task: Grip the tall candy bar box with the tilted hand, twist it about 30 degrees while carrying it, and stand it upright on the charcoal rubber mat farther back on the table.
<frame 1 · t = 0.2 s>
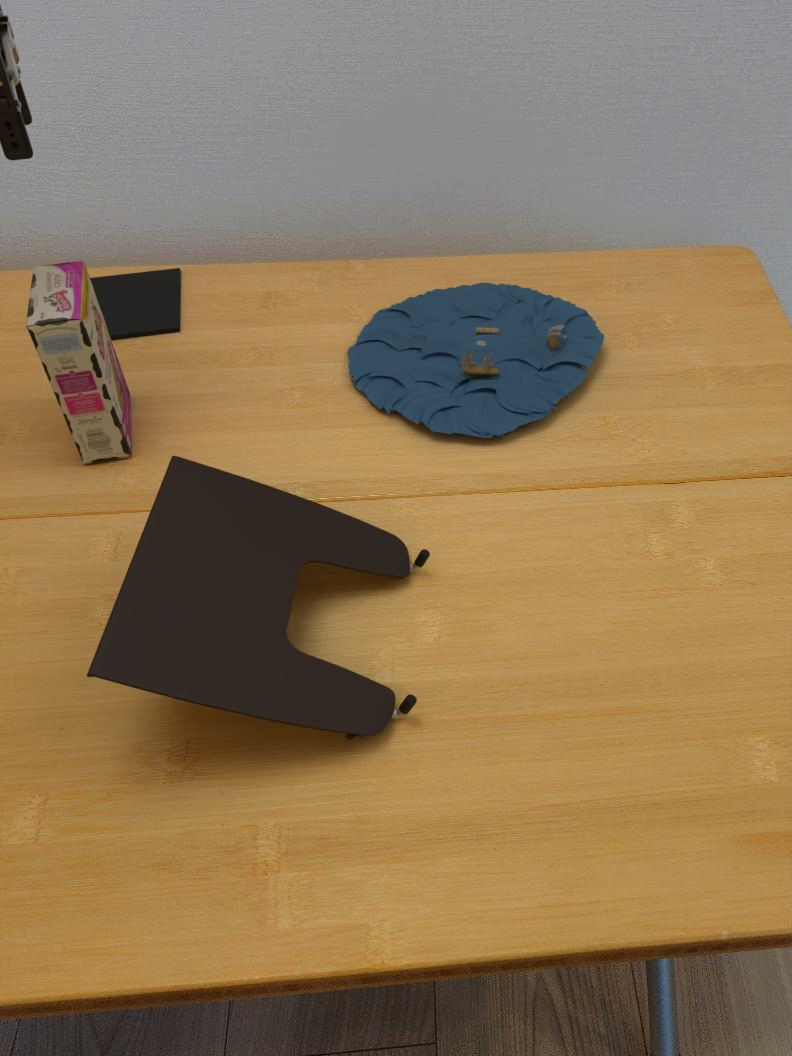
hand: (20, 140, 84), 28 cm above the table, tool pointing down, fingers open, 8 cm apart
mat: (129, 306, 116), on the table
laptop tray: (298, 641, 80), on the table
blue wavy sea disc: (477, 363, 109), on the table
candy bar box: (110, 430, 100), on the table
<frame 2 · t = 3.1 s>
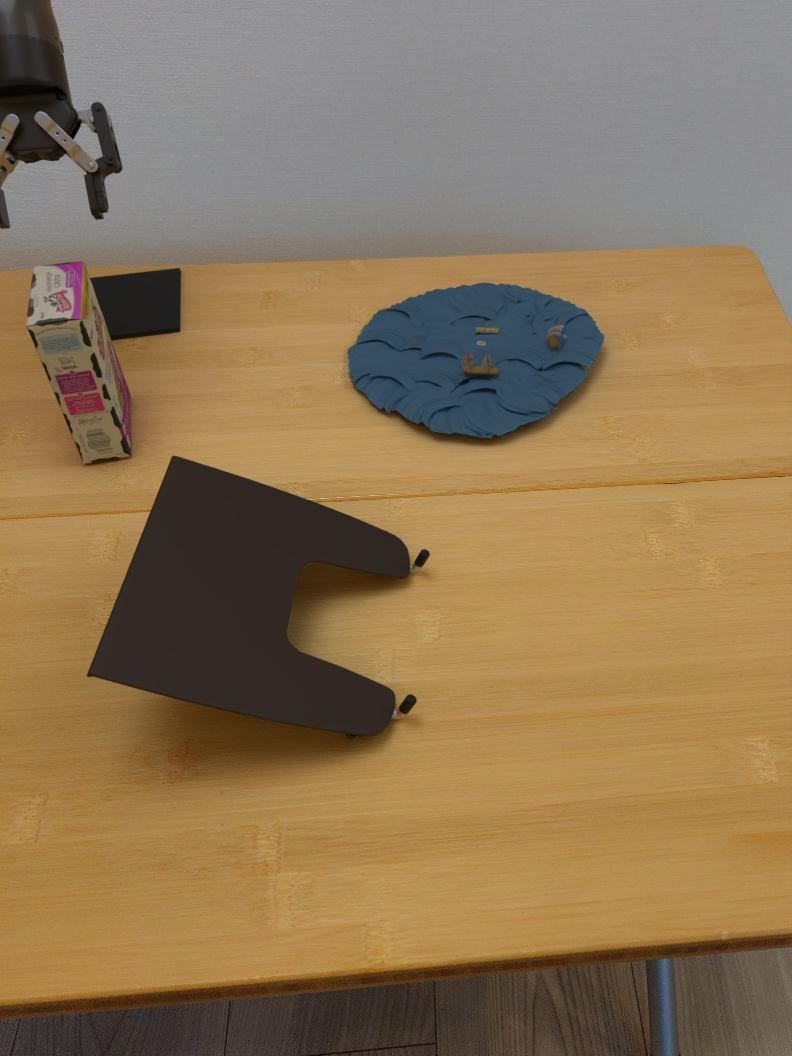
hand: (50, 221, 91), 19 cm above the table, tool tilted 45°, fingers open, 8 cm apart
nothing on the table moved.
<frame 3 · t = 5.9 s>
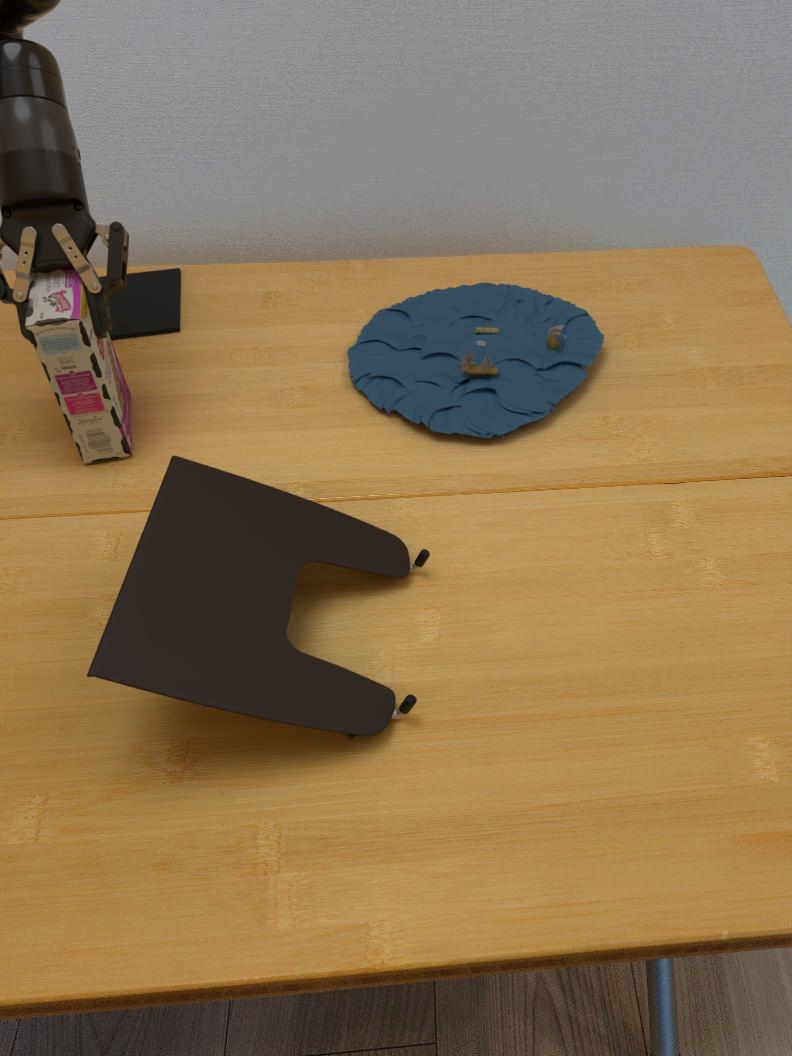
hand: (69, 339, 90), 12 cm above the table, tool tilted 45°, fingers closed on candy bar box, 5 cm apart
candy bar box: (110, 430, 100), on the table, touching gripper
everything else where it was.
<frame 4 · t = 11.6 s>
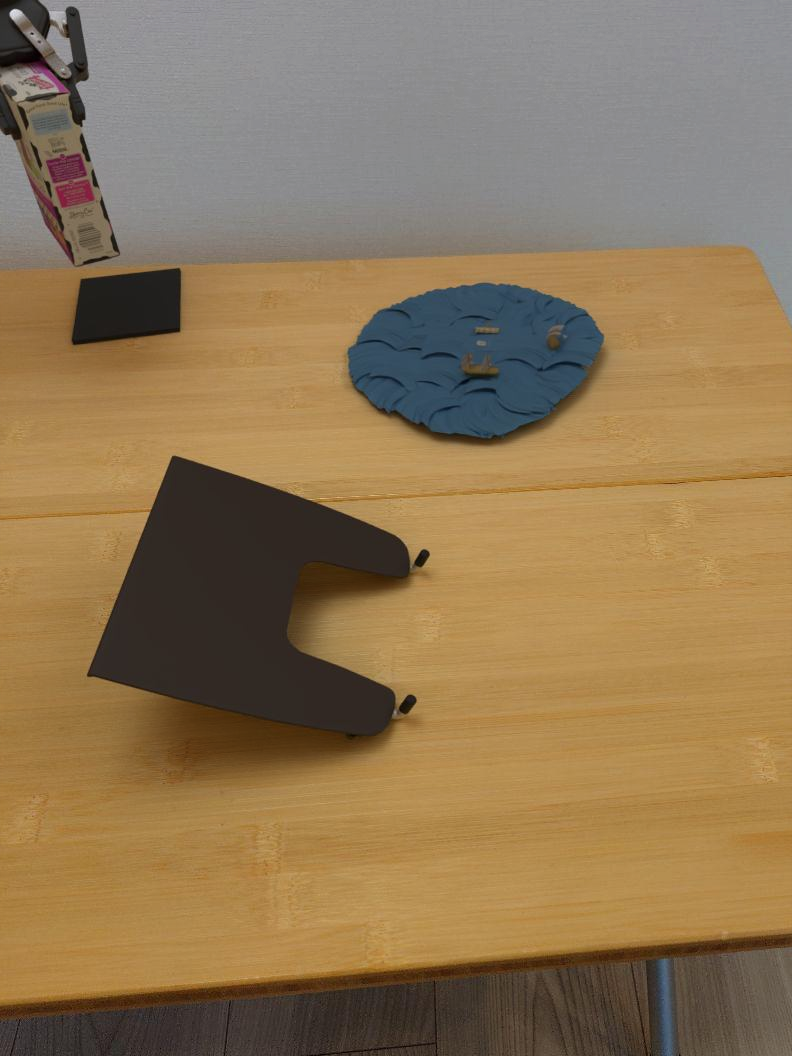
hand: (48, 129, 90), 26 cm above the table, tool tilted 45°, fingers closed on candy bar box, 5 cm apart
candy bar box: (84, 241, 100), point 14 cm above the table, touching gripper
everything else where it was.
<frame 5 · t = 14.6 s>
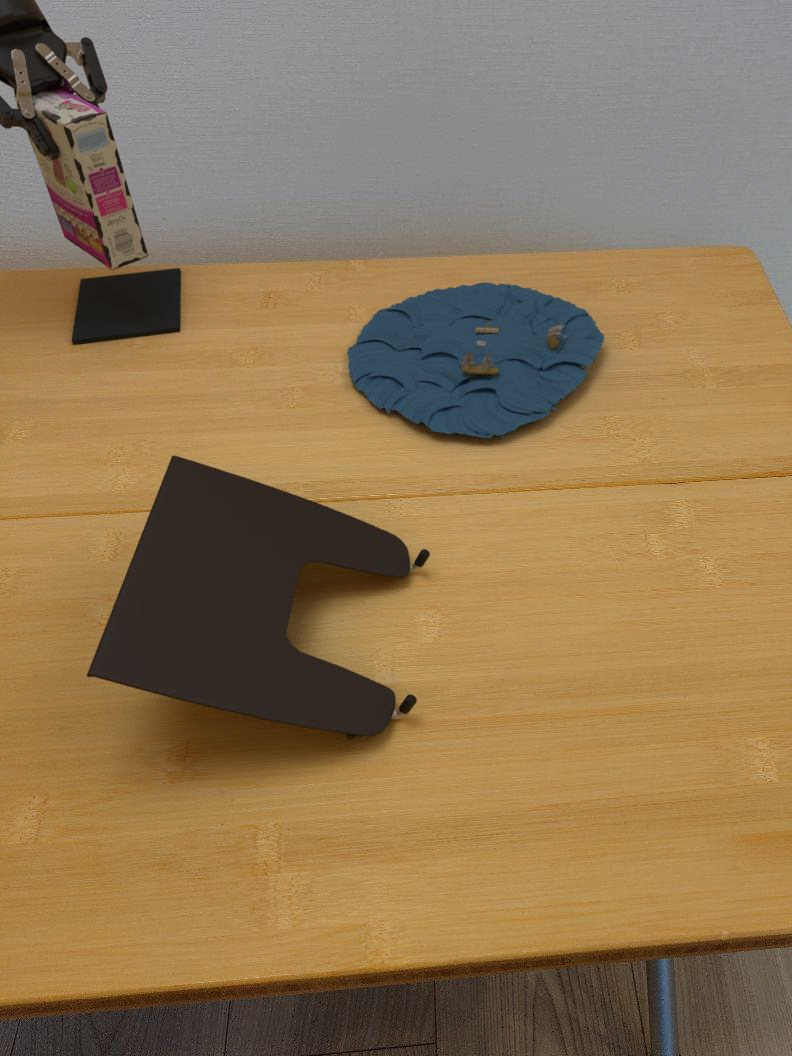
hand: (81, 148, 101), 20 cm above the table, tool tilted 45°, fingers closed on candy bar box, 5 cm apart
candy bar box: (107, 248, 110), point 8 cm above the table, touching gripper
everything else where it was.
when the fingers open (13 cm above the table, at t = 17.1 s): candy bar box stays where it is, resting on mat.
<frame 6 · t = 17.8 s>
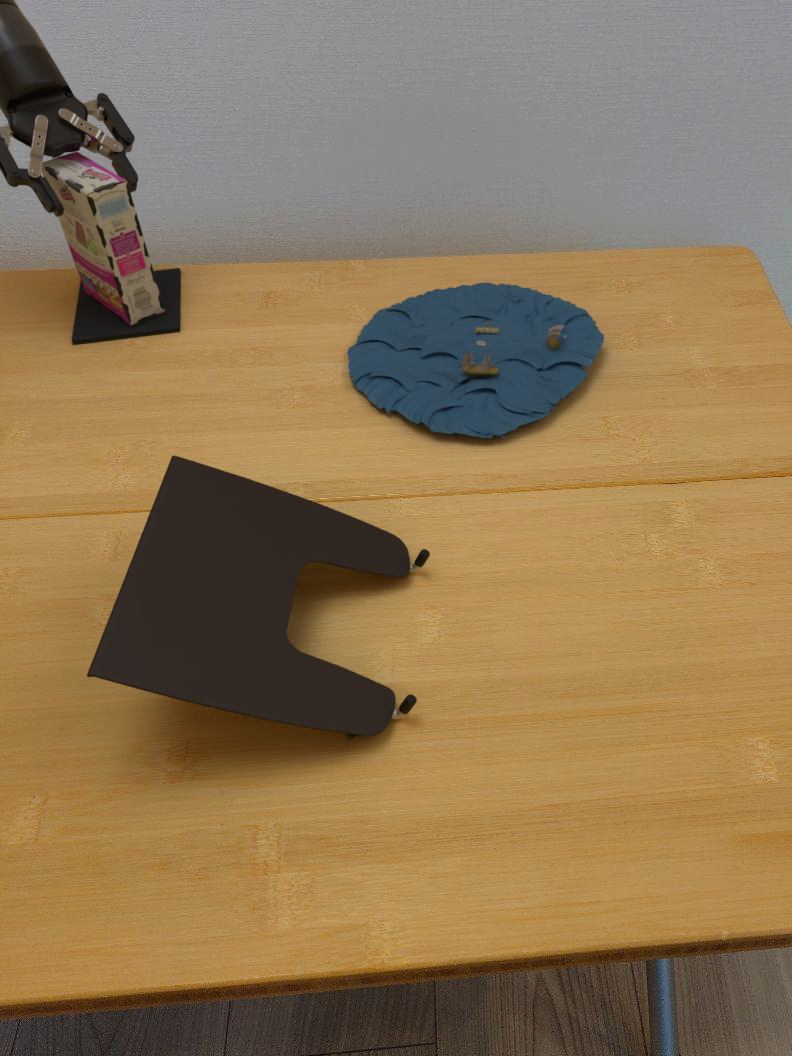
hand: (98, 200, 105), 14 cm above the table, tool tilted 45°, fingers open, 8 cm apart
candy bar box: (126, 303, 115), resting on mat
everything else where it was.
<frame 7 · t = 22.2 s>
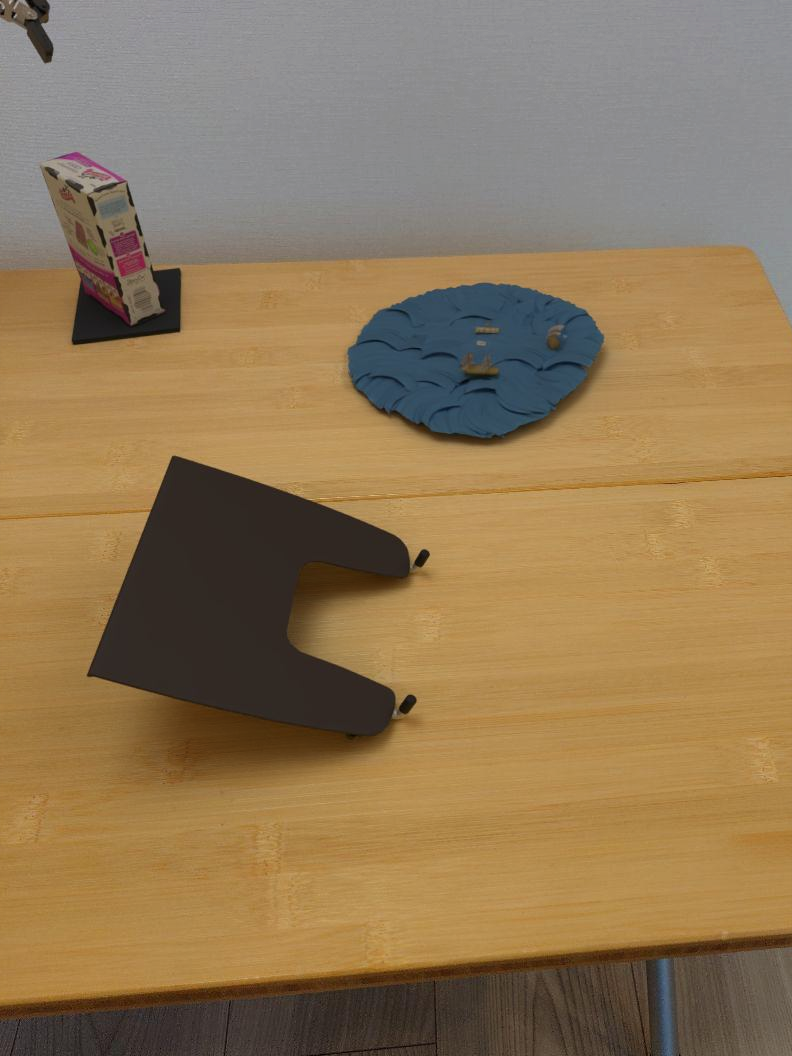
hand: (11, 68, 104), 25 cm above the table, tool tilted 45°, fingers open, 8 cm apart
nothing on the table moved.
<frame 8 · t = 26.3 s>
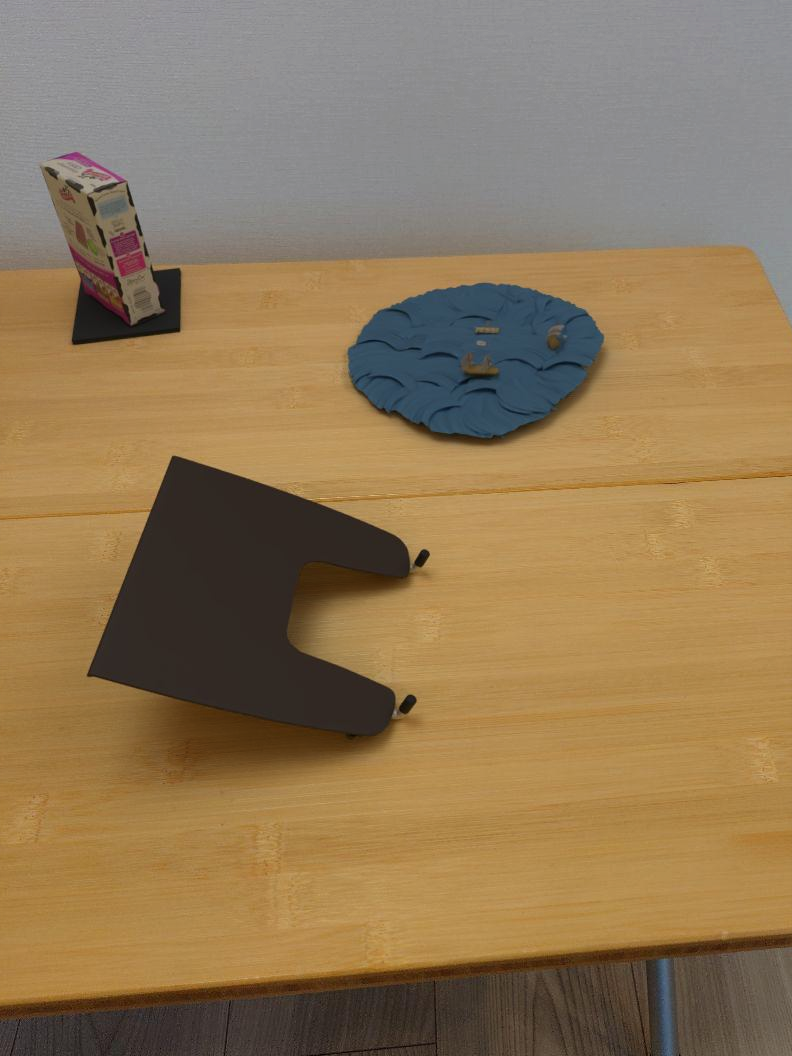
nothing on the table moved.
at the end: candy bar box 0.2 cm off-centre on the mat, point 0.4 cm above the mat's base; candy bar box tilted 0°; the gripper is holding nothing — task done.
